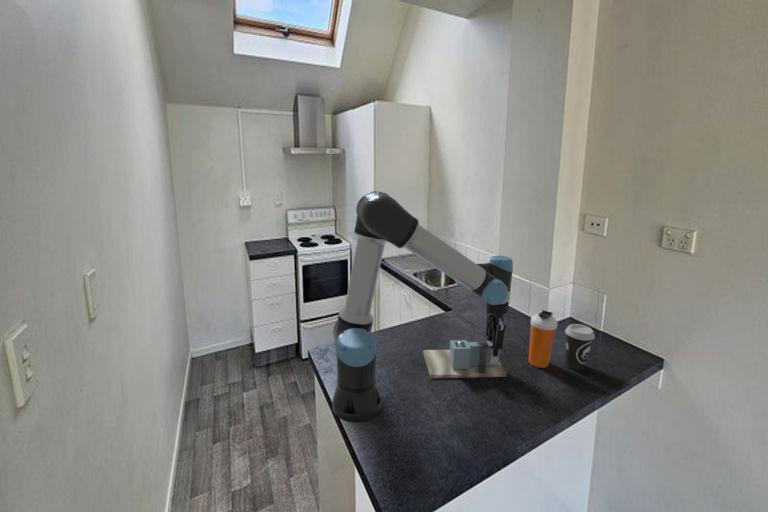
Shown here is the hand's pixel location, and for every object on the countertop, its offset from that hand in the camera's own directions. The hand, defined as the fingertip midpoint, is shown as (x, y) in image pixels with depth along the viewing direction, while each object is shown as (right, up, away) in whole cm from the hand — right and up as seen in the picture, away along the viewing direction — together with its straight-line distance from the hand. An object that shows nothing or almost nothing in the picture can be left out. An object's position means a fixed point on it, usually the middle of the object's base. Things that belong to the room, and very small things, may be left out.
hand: (491, 360), depth 135 cm
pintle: (-12, -3, 0) cm, 12 cm away
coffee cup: (+31, -3, +3) cm, 32 cm away
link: (-6, -1, 0) cm, 7 cm away
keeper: (-5, -3, -1) cm, 6 cm away
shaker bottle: (+19, -2, +4) cm, 19 cm away
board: (-10, -2, +3) cm, 11 cm away
